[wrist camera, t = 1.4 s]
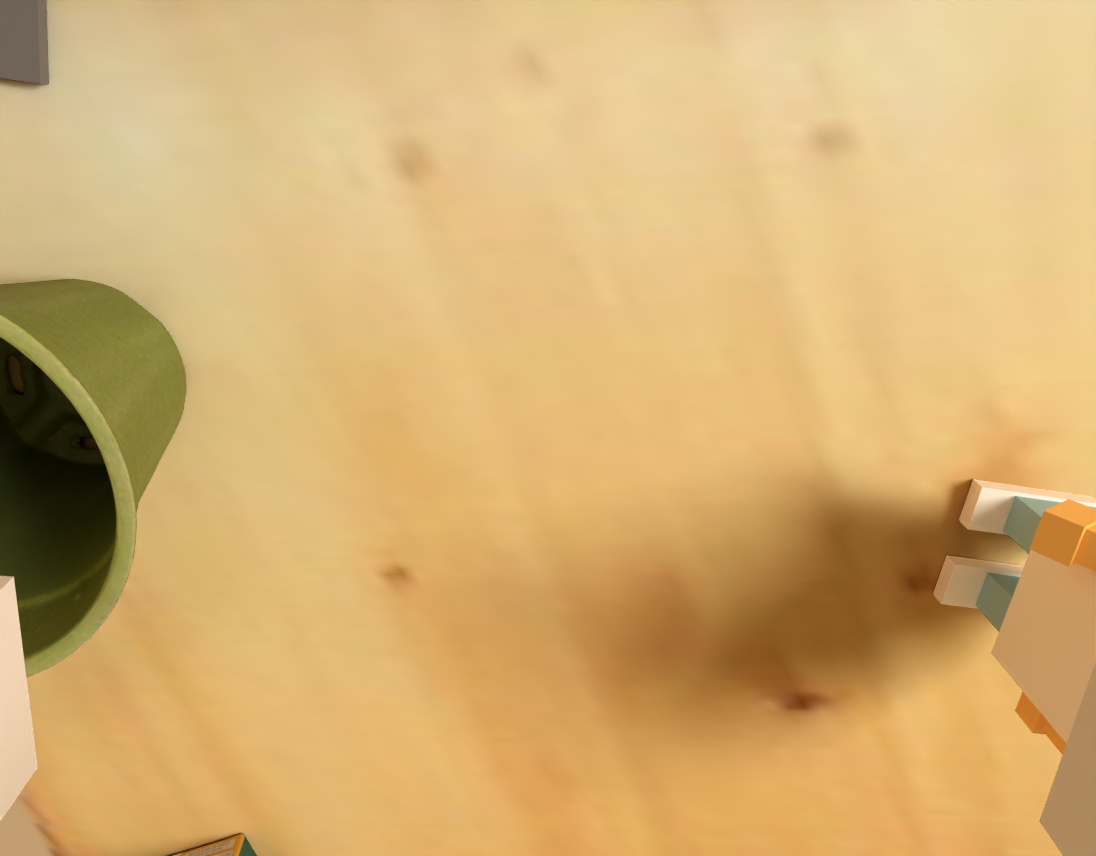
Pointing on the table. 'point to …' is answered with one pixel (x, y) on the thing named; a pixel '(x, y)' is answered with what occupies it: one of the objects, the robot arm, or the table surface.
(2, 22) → the mat
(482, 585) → the table surface
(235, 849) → the crayon box
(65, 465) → the plant pot
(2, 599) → the robot arm
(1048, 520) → the character figure
